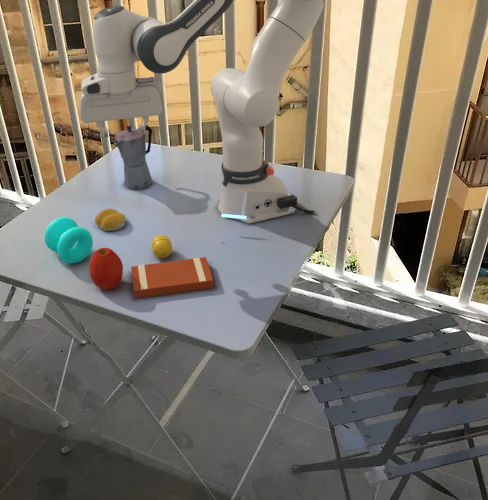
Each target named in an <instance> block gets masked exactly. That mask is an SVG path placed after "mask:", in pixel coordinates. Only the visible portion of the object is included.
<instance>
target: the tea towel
mask: <svg viewBox="0 0 488 500" xmlns="http://www.w3.org/2000/svg"><path fill="white" fill-rule="evenodd" d="M130 269H131V277H132V278H131V279H132V287H133V295H134V299H141V298H149V297H150V298H151V297H158V296H164V295H165V296H166V295H172V294H179V293H186V292H188V293H189V292H195V291H202V290H209V289H214V278H213V275H212V272H211V269H210V265H209V262H208V259H207V256H203V257H199V256H197V257H193V258H186V259H178V260H172V261H171V260H170V261H163V262H156V263H148V264H138V265H133V266H131V267H130Z"/></svg>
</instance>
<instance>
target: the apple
mask: <svg viewBox="0 0 488 500" xmlns="http://www.w3.org/2000/svg"><path fill="white" fill-rule="evenodd" d="M88 272H89V277H90V279H91V281H92V282H93V284H94V285H95V286H96V287H97V288H99V289H100V290H103V291H110V290H114V289H115V288H117V287H118V286H119V285H120V284H121V281H122V278H123V275H124V265H123V262H122V260H121V258H120V256H119V255H118V253H117V252H115V251H114V250H113V249H112V248H109V247H100V248H97V249H96V250H95V251H94V252H93V254H92V256H91V258H90V260H89V266H88Z"/></svg>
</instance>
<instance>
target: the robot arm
mask: <svg viewBox="0 0 488 500" xmlns="http://www.w3.org/2000/svg"><path fill="white" fill-rule="evenodd" d="M236 1H237V0H193V1H192V2H191V3H190V4H189V5H188V6H187V7H186V8H185V9H183V10H182V12H181V13H180V14H178V15H177V16H176V17H175V18H174V19H172V21H169V22H165V23H164V22H162V21H160V20H159V19H157V18H154V17H151V16H145V15H141V14H138V13H136V12H133V11H131V10H130V9H127V8H126V7H125V6H123V5H115V6H108V7H106V8H103V9H101V10H99V11H98V12H96V14H95V15H94V17H93V20H92V39H93V46H94V53H95V55H96V59H97V72H96V73H94V74H92V75H90V76H87V77H85V78H83V79H82V81H81V84H80V89H81V93H80V98H79V115H80V120H81V122H82V123H84V124H90V123H92V124H93V123H95V124H96V127H97V128H98V130H99V131H100V132H101V135H102V139H105V138H109V137H110V136H109V130H108V129H109V128H104V127H103V126H104V125H103V122H109V121H110V122H111V121H118V120H128V119H135V118H138V119H139V118H142V120H143V122H142V123H141V124H138V128H139V130H140V134H143V133H145V134H146V133H147V130H145V127H146V125H148V123H149V121H150V117H155V116H160V115H161V114H162V112H163V106H162V100H161V96H160V94H161V93H162V90H163V89H162V82H161V80H160V79H159V78H156V77H155V76H149V77H136V76H137V75H136V67H135V64H136V63H138V62H141V63H142V65H143V67H144V68H146V70H148V71H149V72H152V73H154V74H159V75H160V74H161V75H162V74H167V73H170V72H171V71H174V70H175V69H176V68H177V67H178V66H179V65H180V63H182V61H183V59H184V57H185V55H186V53H187V52H188V50H189V49H190V48H191V46H192V45H193V44H194V42H195V41H196V40H198V39H199V38H200V37H201V36H202V35H203V34H204V33H205V32H206V31H207V30H208V29H209V28H210V27H211V26H212V25H213V24H215V23H216V22H217V20H219V18H221V17H222V15H224V14H225V12H227V10H228V9H229V8H230V7H231V6H232V5H233V4H234V3H235V2H236ZM323 10H324V0H278V3H277V4H276V6H275V8H274V9H273V10H272V12H271V14H270V15H269V17H268V18H267V20H266V21H265V23H264V24H263V25H262V28H261V29H260V30H259V32H258V33H257V35H256V37H255V38H254V40H253V41H252V43H251V46H250V58H249V62H248V65H247V67H246V70H245V71H244V70H242V69H239V68H231V67H226V68H223V69H221V70H219V71H217V73H215V74H214V76H213V78H212V79H211V82H210V93H211V96H212V98H213V100H214V104H215V105H214V106H215V109H216V114H217V119H218V125H219V129H220V133H221V134H220V135H221V143H222V145H221V146H222V162H221V166H220V167H221V169H220V180H221V184H222V185H221V195H220V199H219V203H218V207H217V210H218V211H219V213H220V214H221V218H230V219H232V220H233V219H234V220H237V221H241V222H243V223H245V224H254V223H257V222H263V221H266V220H270V219H275V218H279V217H283V216H287V215H292V214H295V213H296V211H297V210H298V211H300V212H302V211H304V212H303V213H307V214H315V210H314V209H313V210H311V209H304V208H302V207H299V206H297V205H298V197H297V196H295V194H291V193H289V192H288V189H287V186H286V184H285V183H284V182H283V180H281V179H280V178H279V177H277V176H276V175H274V174H275V170H274V168H273V167H272V166H270V164H269V163H268V162H267V161H266V160H265V159H264V158H263V157H264V156H263V155H264V152H263V150H264V138H263V137H264V136H263V133H262V131H261V129H260V128H261V127H265V126H267V125H268V124H270V123H271V122H272V121H274V119H275V117H276V116H277V113H278V111H279V93H280V89H281V86H282V83H283V81H284V78H285V75H286V73H287V71H288V69H289V67H290V65H291V64H292V62H293V61H294V59H295V58H296V57H297V55H298V53H299V52H300V51H301V49H302V47H303V46H304V45H305V43H306V42H307V40H308V39H309V37H310V35H311V33H312V32H313V30H314V29H315V27H316V24H317V22H318V21H319V19H320V16H321V14H322V12H323ZM290 207H293V208H295V209H294V210H293V211H289V208H290ZM288 211H289V212H288Z"/></svg>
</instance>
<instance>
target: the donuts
mask: <svg viewBox="0 0 488 500" xmlns="http://www.w3.org/2000/svg"><path fill="white" fill-rule="evenodd" d="M43 238H44V243H45V245H46V247H47V249H49V250H50V251H52V252H55V253H57V254H58V256H59V258H60V259H61V260H62V261H63V262H65V263H67V264H77V263H79V262H82V261H84V260H85V259H86V258H87V257H88V256H89V255H90V253H91V251H92V250H93V245H94V239H93V236H92V234H91V232H90V231H89V230H88V229H87V228H85V227H82V226H79V225H78V223H77V222H76V221H75V220H74V219H72V218H71V217H68V216H61V217H58V218H55V219H53V220H52V221H51V222H50V223H49V224H48V225H47V227H46V229H45V231H44V237H43Z"/></svg>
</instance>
